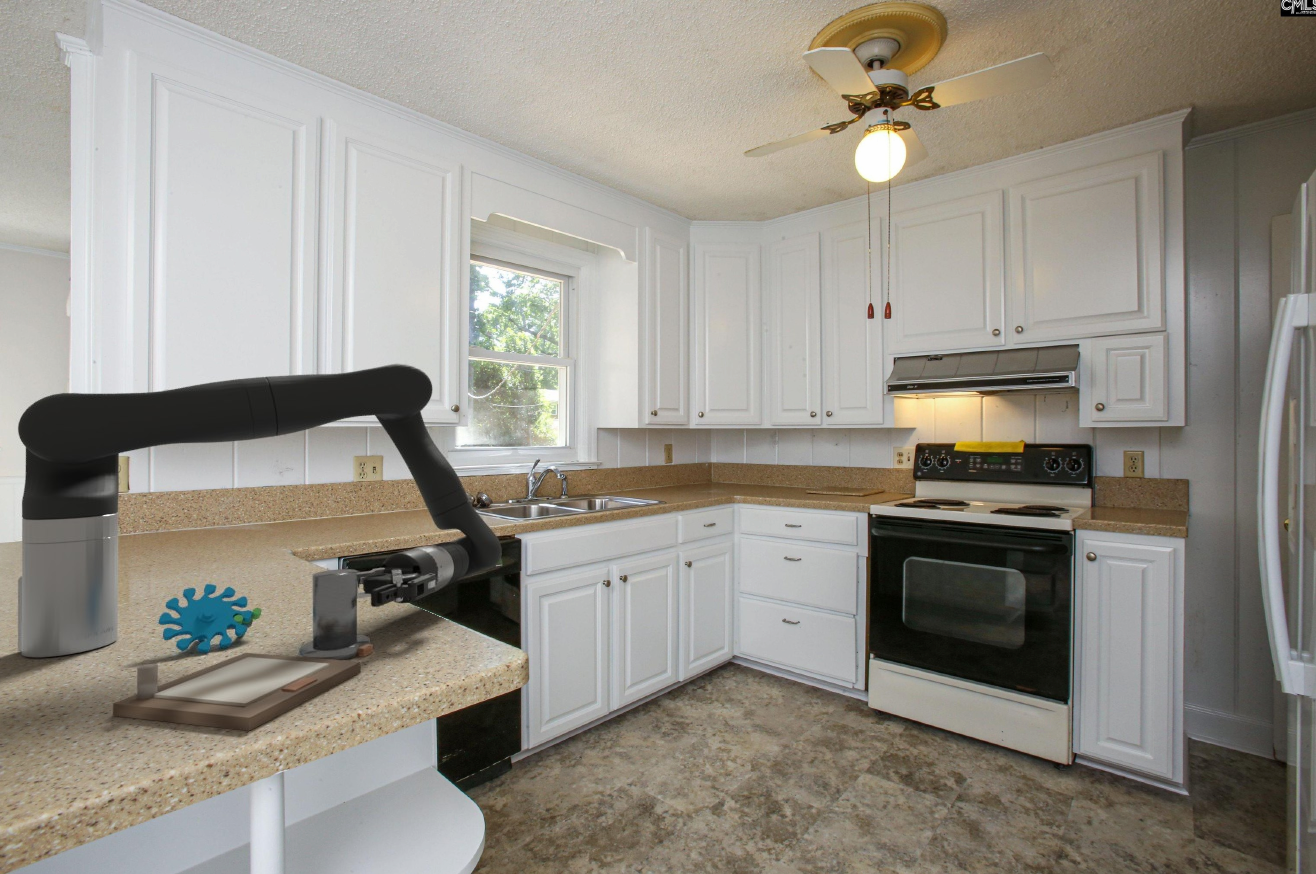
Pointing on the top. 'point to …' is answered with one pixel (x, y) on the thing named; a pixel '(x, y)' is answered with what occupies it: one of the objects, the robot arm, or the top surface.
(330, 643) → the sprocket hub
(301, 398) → the robot arm
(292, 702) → the mount board
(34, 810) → the top surface
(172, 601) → the gear
